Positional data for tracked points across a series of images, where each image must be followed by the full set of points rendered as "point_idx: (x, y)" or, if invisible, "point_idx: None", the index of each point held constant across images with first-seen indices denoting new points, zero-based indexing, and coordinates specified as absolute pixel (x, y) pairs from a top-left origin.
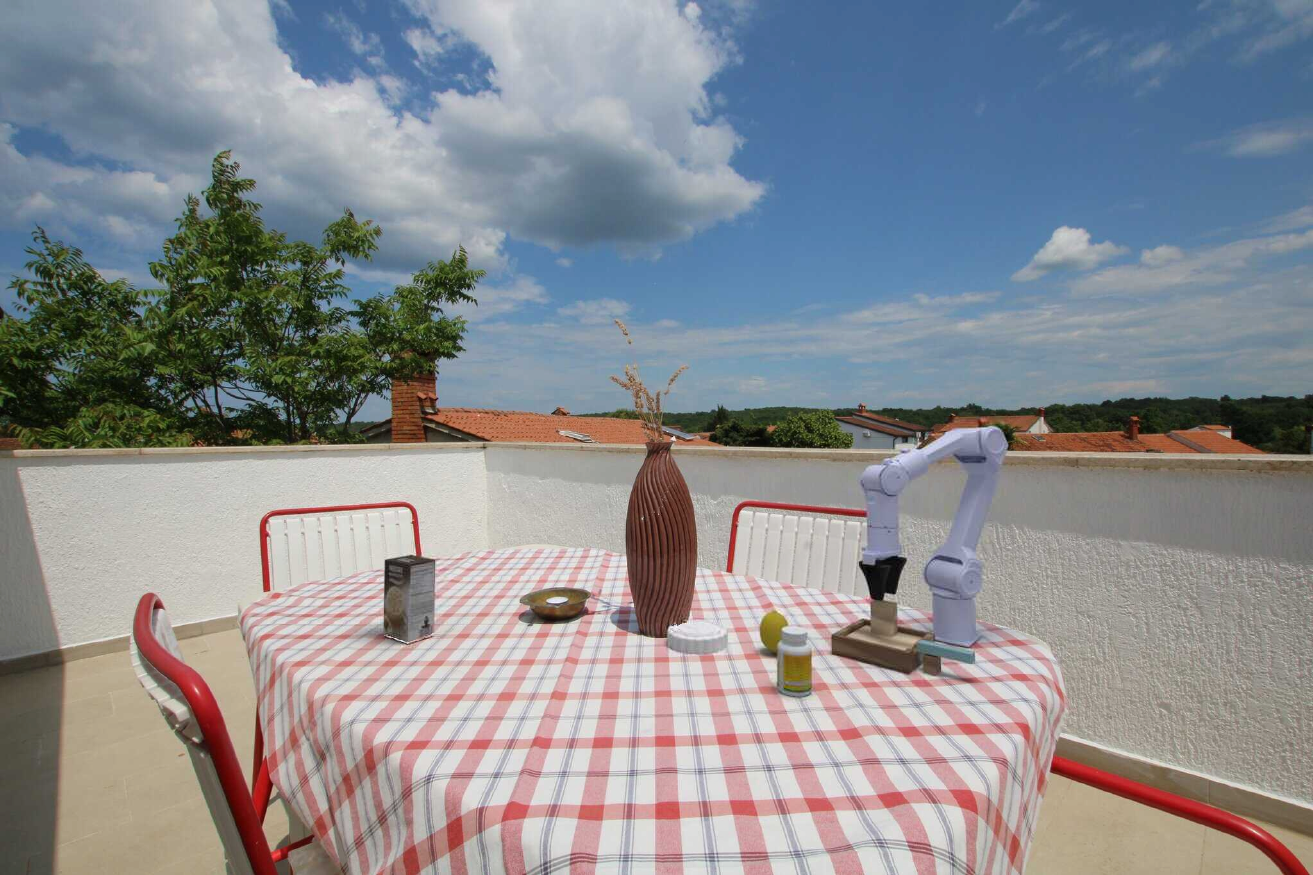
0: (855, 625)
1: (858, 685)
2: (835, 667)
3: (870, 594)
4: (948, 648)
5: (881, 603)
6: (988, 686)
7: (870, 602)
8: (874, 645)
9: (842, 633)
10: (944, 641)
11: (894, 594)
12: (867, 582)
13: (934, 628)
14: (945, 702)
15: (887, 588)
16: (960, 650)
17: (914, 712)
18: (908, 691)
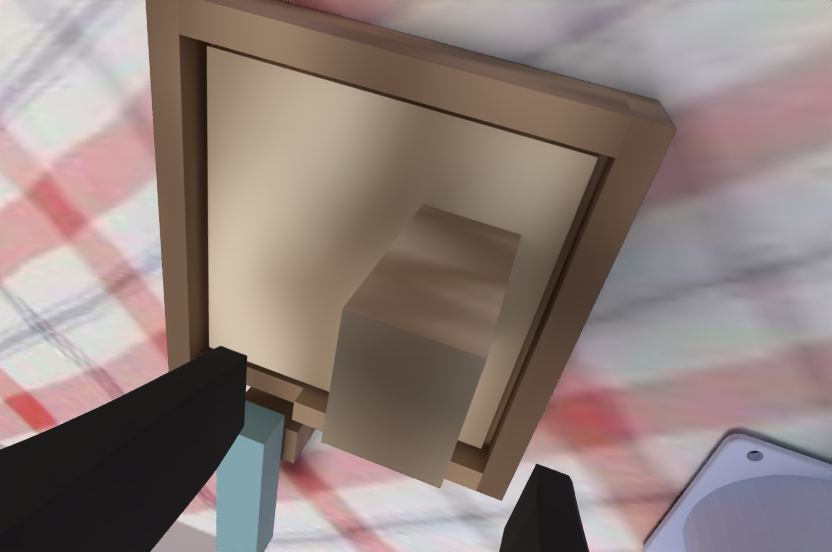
0: (440, 105)
1: (20, 172)
2: (90, 53)
3: (184, 367)
4: (226, 506)
5: (346, 386)
6: (283, 499)
7: (344, 306)
8: (164, 246)
9: (232, 48)
10: (684, 492)
11: (506, 529)
12: (44, 436)
13: (773, 507)
14: (109, 390)
15: (517, 531)
16: (231, 533)
17: (2, 320)
18: (100, 314)
